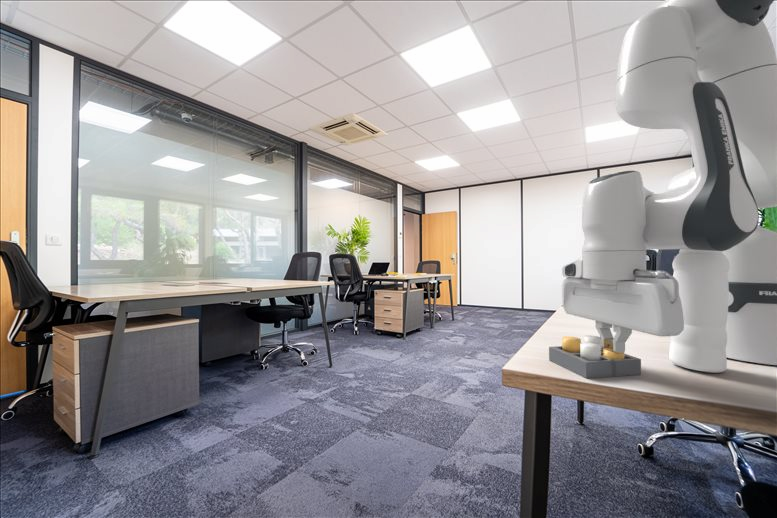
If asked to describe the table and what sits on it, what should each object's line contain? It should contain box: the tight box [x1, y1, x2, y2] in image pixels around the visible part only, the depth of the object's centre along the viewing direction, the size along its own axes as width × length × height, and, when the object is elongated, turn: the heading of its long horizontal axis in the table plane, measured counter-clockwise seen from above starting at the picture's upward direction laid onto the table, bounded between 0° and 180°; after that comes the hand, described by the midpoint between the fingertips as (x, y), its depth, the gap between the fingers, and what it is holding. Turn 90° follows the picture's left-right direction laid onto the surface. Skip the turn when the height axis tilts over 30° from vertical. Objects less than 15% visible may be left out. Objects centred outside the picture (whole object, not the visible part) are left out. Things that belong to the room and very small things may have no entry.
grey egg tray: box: [548, 345, 642, 379], centre depth 55 cm, size 10×9×2 cm
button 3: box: [583, 335, 603, 351], centre depth 58 cm, size 3×3×3 cm
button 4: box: [603, 349, 625, 360], centre depth 53 cm, size 3×3×3 cm
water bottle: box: [668, 249, 730, 374], centre depth 54 cm, size 7×7×25 cm
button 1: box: [561, 336, 582, 353], centre depth 57 cm, size 3×3×3 cm
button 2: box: [580, 342, 601, 361], centre depth 53 cm, size 3×3×3 cm
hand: (612, 350), depth 53 cm, fingers closed, pressing on button 4
